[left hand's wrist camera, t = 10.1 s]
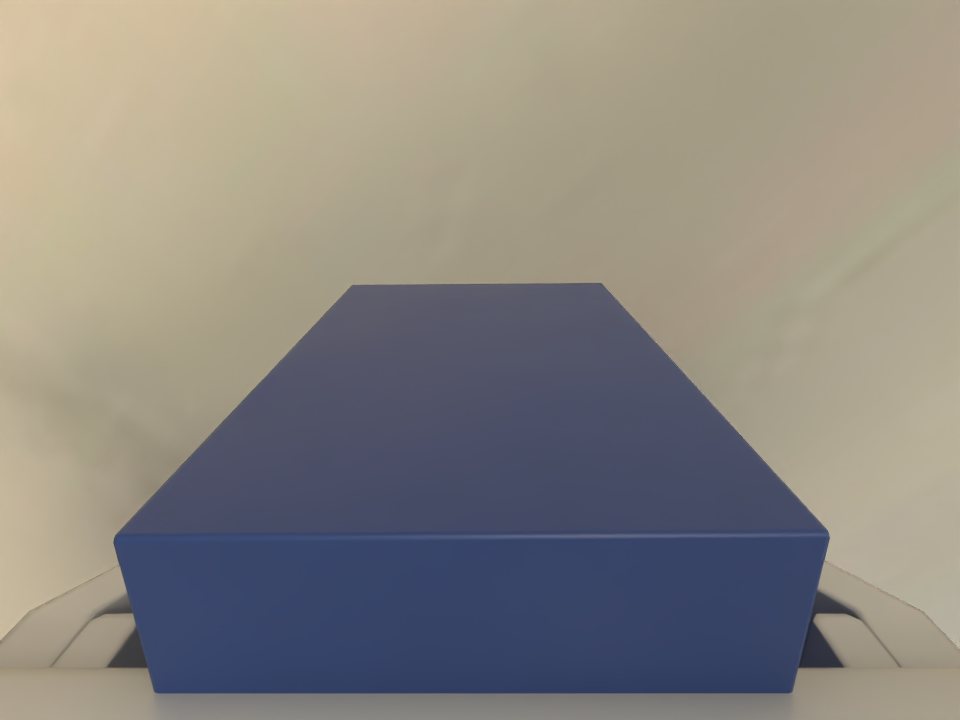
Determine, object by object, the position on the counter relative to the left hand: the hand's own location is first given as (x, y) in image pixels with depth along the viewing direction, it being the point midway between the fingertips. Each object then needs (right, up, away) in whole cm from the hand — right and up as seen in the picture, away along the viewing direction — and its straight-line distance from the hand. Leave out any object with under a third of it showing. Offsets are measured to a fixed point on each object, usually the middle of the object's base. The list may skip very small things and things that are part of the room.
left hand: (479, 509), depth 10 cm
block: (0, -7, +6) cm, 9 cm away
